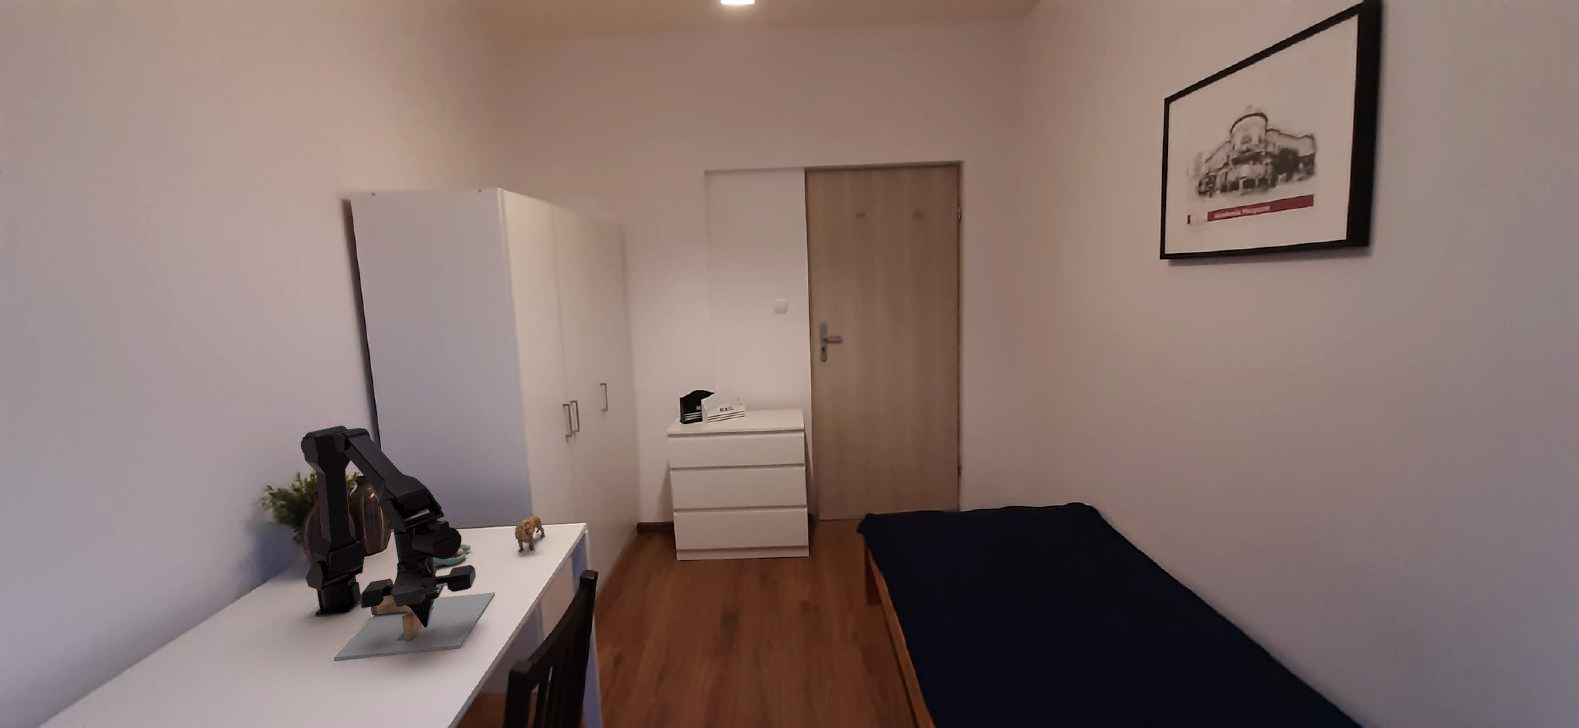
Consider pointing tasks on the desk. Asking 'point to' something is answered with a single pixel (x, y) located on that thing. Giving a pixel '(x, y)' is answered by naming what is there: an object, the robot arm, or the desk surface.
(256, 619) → the desk surface
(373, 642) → the card
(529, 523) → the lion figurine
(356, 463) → the robot arm
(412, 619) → the fence panel
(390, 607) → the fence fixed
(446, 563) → the stuffed animal
